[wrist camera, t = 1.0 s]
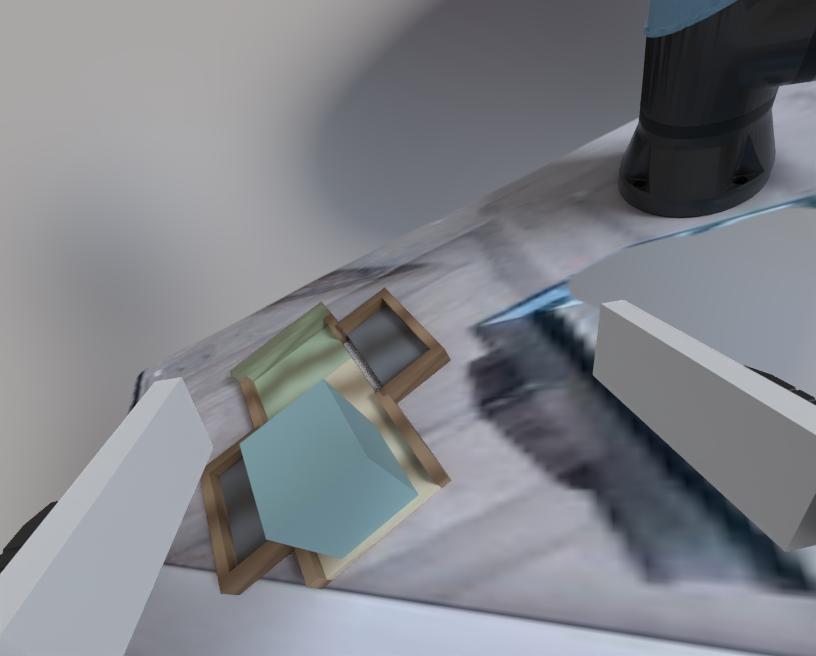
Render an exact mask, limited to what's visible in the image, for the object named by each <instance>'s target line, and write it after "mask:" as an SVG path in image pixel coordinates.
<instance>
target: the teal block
mask: <svg viewBox="0 0 816 656" xmlns="http://www.w3.org/2000/svg"><path fill="white" fill-rule="evenodd" d="M240 448H241V452H242V455H243V459H244V462H245V466H246V469H247V473H248V477H249V480H250V484H251V487H252V491H253V494H254V498H255V501H256V505H257V509H258V512H259V516H260V519H261V523H262V526H263V530H264V534H265V537H266V539H267V540H271V541H274V542H278V543H282V544H286V545H290V546H294V547H297V548H301V549H305V550H309V551H313V552H317V553H320V554H324V555H328V556H332V557H336V558H340V559H343V558H344V557H345V556H347V555H348V554H349V553H350V552H351V551H353V550H354V549H355V548H356V547H357V546H359V545H360V544H361V543H362V542H363V541H365V540H366V539H367V538H368V537H369V536H371V535H372V534H373V533H374V532H375V531H377V530H378V529H379V528H380V527H381V526H383V525H384V524H385V523H386V522H387V521H388V520H390V519H391V518H392V517H393V516H394V515H396V514H397V513H398V512H399V511H400V510H402V509H403V508H404V507H405V506H406V505H408V504H409V503H410V502H411V501H412V500H414V499H415V498H416V497H417V496H418V495H419V494H418V493H417V491H416V489H415V488H414V486H413V485H412V483H411V481H410V480H409V478H408V477H407V475H406V473H405V472H404V470H403V469H402V467H401V465H400V464H399V462H398V461H397V459H396V457H395V456H394V454H393V453H392V451H391V449H390V448H389V446H388V445H387V443H386V441H385V440H384V438H383V437H382V435H381V433H380V432H379V430H378V429H377V427H376V426H375V425H374V424H373V423H372V422H371V421H370V420H369V419H367V418H366V417H365V416H364V415H363V414H362V413H361V412H360V411H359V410H357V409H356V408H355V407H354V406H353V405H352V404H351V403H350V402H349V401H347V400H346V399H345V398H344V397H343V396H342V395H341V394H340V393H339V392H338V391H336V390H335V389H334V388H333V387H332V386H331V385H330V384H329V383H328V382H326V381H325V380H324V379H322V380H321V381H320V382H318V383H317V384H316V385H314V386H313V387H312V388H311V389H309V390H308V391H307V392H305V393H304V394H303V395H302V396H300V397H299V398H298V399H296V400H295V401H294V402H293V403H291V404H290V405H289V406H287V407H286V408H285V409H284V410H282V411H281V412H280V413H278V414H277V415H276V416H275V417H273V418H272V419H271V420H269V421H268V422H267V423H266V424H264V425H263V426H262V427H261V428H259V429H258V430H257V431H255V432H254V433H253V434H252V435H250V436H249V437H248V438H246V439H245V440H244V441H243V442H241V443H240Z"/></svg>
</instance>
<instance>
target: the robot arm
mask: <svg viewBox="0 0 816 656" xmlns="http://www.w3.org/2000/svg"><path fill="white" fill-rule="evenodd" d="M644 33H645V34H646V48H645V61H644V71H643V82H642V93H641V102H640V115H639V123H638V125H637V128H636V130H635V132H634V134H633V137H632V139H631V141H630V143H629V146H628V148H627V150H626V152H625V155H624V157H623V159H622V161H621V164H620V169H619V190H620V193H621V195H622V196H623V197H624V199H625V200H626V201H627V202H629V203H630V204H631V205H633V206H634V207H636V208H638V209H640V210H643V211H646V212H649V213H653V214H657V215H663V216H673V217H690V216H700V215H707V214H712V213H716V212H720V211H723V210H727V209H729V208H732V207H735V206H737V205H739V204H741V203H743V202H745V201H747V200H748V199H750V198H751V197H753V196H754V195H755V194H757V193H758V192H759V191H760V190H761V189H762V188H763V186H764V185H765V184H766V182H767V180H768V178H769V175H770V172H771V170H772V167H773V164H774V161H775V141H774V130H773V119H772V106H773V103H774V100H775V97H776V94H777V91H778V88H779V86H783V85H789V84H796V83H804V82H811V81H816V0H650V6H649V13H648V19H647V21H646V23H645V27H644ZM593 376H594V377H596V378H597V379H598V380H599V381H600V382H601V383H602V384H603V385H604V386H605V387H606V388H607V389H609V390H610V391H611V392H612V393H613V394H614V395H615V396H616V397H617V398H618V399H619V400H621V401H622V402H623V403H624V404H625V405H626V406H627V407H628V408H629V409H630V410H631V411H633V412H634V413H635V414H636V415H637V416H638V417H639V418H640V419H641V420H642V421H643V422H644V423H646V424H647V425H648V426H649V427H650V428H651V429H652V430H653V431H654V432H655V433H656V434H658V435H659V436H660V437H661V438H662V439H663V440H664V441H665V442H666V443H667V444H668V445H670V446H671V447H672V448H673V449H674V450H675V451H676V452H677V453H678V454H679V455H680V456H681V457H683V458H684V459H685V460H686V461H687V462H688V463H689V464H690V465H691V466H692V467H693V468H695V469H696V470H697V471H698V472H699V473H700V474H701V475H702V476H703V477H704V478H705V479H707V480H708V481H709V482H710V483H711V484H712V485H713V486H714V487H715V488H716V489H717V490H718V491H720V492H721V493H722V494H723V495H724V496H725V497H726V498H727V499H728V500H729V501H730V502H732V503H733V504H734V505H735V506H736V507H737V508H738V509H739V510H740V511H741V512H742V513H744V514H745V515H746V516H747V517H748V518H749V519H750V520H751V521H752V522H753V523H754V524H755V525H757V526H758V527H759V528H760V529H761V530H762V531H763V532H764V533H765V534H766V535H767V536H769V537H770V538H771V539H772V540H773V541H774V542H775V543H776V544H777V545H778V546H779V547H781V548H782V549H783V550H784V551H785V552H788V551H792V550H797V549H801V548H805V547H809V546H813V545H816V400H815V398H814V397H812V396H810V395H809V394H807V393H805V392H803V391H801V390H796V389H795V387H794V386H792V385H790V384H788V383H786V382H784V381H782V380H781V379H779V378H777V377H775V376H773V375H771V374H768V373H765V372H762V371H759V370H756V369H753V368H750V367H747V366H743V365H741V364H739V363H737V362H736V361H734V360H732V359H730V358H728V357H726V356H724V355H723V354H721V353H719V352H717V351H716V350H714V349H712V348H710V347H708V346H706V345H705V344H703V343H701V342H699V341H697V340H695V339H694V338H691V337H690V336H688V335H686V334H685V333H683V332H681V331H679V330H677V329H675V328H674V327H672V326H670V325H668V324H666V323H665V322H663V321H661V320H659V319H657V318H655V317H654V316H652V315H650V314H648V313H646V312H644V311H643V310H641V309H639V308H637V307H636V306H634V305H632V304H630V303H628V302H626V301H625V300H620V301H614V302H608V303H602V304H601V309H600V318H599V327H598V335H597V344H596V352H595V361H594V369H593ZM213 448H214V447H213V445H212V443H211V440H210V438H209V436H208V434H207V432H206V429H205V427H204V425H203V423H202V420H201V418H200V416H199V414H198V412H197V409H196V407H195V405H194V403H193V401H192V398H191V396H190V394H189V392H188V389H187V387H186V385H185V383H184V381H183V378H182V377H178V378H172V379H167V380H161V381H155V382H154V383H153V384H152V386H151V387H150V388H149V389H148V391H147V392H146V393H145V394H144V396H143V397H142V398H141V399H140V401H139V402H138V403H137V404H136V406H135V407H134V408H133V409H132V411H131V412H130V413H129V414H128V416H127V417H126V418H125V419H124V421H123V422H122V423H121V424H120V425H119V427H118V428H117V429H116V430H115V432H114V433H113V434H112V435H111V437H110V438H109V439H108V441H107V442H106V443H105V444H104V445H103V447H102V448H101V449H100V450H99V452H98V453H97V454H96V455H95V457H94V458H93V459H92V460H91V462H90V463H89V464H88V466H87V467H86V468H85V469H84V470H83V472H82V473H81V474H80V475H79V477H78V478H77V479H76V480H75V482H74V483H73V484H72V485H71V487H70V488H69V489H68V490H67V491H66V493H65V494H64V495H63V496H62V498H61V499H60V500H59V501H56V502H52V503H50V504H49V505H48V506H46V507H45V508H44V509H43V510H42V511H41V512H39V513H38V514H37V515H36V516H34V517H33V518H32V519H31V520H30V521H28V522H27V523H26V524H25V525H24V526H23V527H22V528H21V529H20V530H19V532H18V533H17V534H16V535H15V536H14V538H13V539H12V540H11V541H10V542H9V543H8V545H7V546H6V547H5V548H4V549H3V554H2V555H0V656H124V654H125V651H126V649H127V647H128V644H129V642H130V640H131V637H132V635H133V633H134V630H135V628H136V626H137V623H138V621H139V619H140V617H141V614H142V612H143V610H144V607H145V605H146V603H147V600H148V598H149V596H150V593H151V591H152V589H153V586H154V584H155V582H156V580H157V577H158V575H159V573H160V570H161V568H162V566H163V563H164V561H165V559H166V556H167V554H168V552H169V549H170V547H171V545H172V543H173V540H174V538H175V536H176V533H177V531H178V529H179V526H180V524H181V522H182V519H183V517H184V515H185V512H186V510H187V508H188V506H189V503H190V501H191V499H192V496H193V494H194V492H195V489H196V487H197V485H198V482H199V480H200V478H201V475H202V473H203V471H204V469H205V466H206V464H207V462H208V459H209V457H210V455H211V452H212V450H213Z"/></svg>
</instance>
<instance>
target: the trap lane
mask: <svg viewBox="0 0 816 656" xmlns="http://www.w3.org/2000/svg"><path fill="white" fill-rule="evenodd" d="M349 339H350V340H351V341H352V343H353V344H354V346H355V347H356V348H357V350H358V351H359V353H360V354H361V355H362V357H363V358H364V360H365V361H366V362H367V364H368V365H369V367H370V368H371V369H372V371H373V372H374V374H375V375H376V376H377V378H378V379H379V381H380V382H381V383H382V385H383V387H382V388H381V389H380V390H378V391H377V392H376V391H375V390H374V388H373V387H372V386H371V384H370V383H369V381H368V380H367V378H366V377H365V375H364V374H363V372H362V371H361V369H360V368H359V367H358V365H357V364H356V362H355V361H354V359H353V358H352V356H351V355H350V353H349V352H348V350H347V349H346V347H345V346H344V345H343V344H344V343H345V342H347V341H348V340H349ZM449 361H450V358H449V356H448V354H447V353H446V351H445V349H444V348H443V347H442V346H441V345H440V344H439V343H438V342H437V341H436V340H435V339H434V338H433V337H432V336H431V335H430V333H429V332H428V331H427V330H426V329H425V328H424V327H423V326H422V325H421V324H420V323H419V322H418V321H417V320H416V319H415V318H414V317H413V316H412V315H411V314H410V313H409V312H408V311H407V310H406V309H405V308H404V307H403V306H402V305H401V304H400V303H399V302H398V301H397V300H396V299H395V298H394V297H393V296H392V295H391V294H390V293H389V292H388V291H387V290H386V289H385V288H383V289H382V290H381V291H380V292H378V293H377V294H376V295H374V296H373V297H372V298H370V299H369V300H368V301H367V302H365V303H364V304H363V305H361V306H360V307H359V308H357V309H356V310H355V311H353V312H352V313H351V314H350V315H348V316H347V317H346V318H344V319H343V320H342V321H340V322H338V321H337V320H336V318H335V317H334V316H333V315H332V314H331V312H330V311H329V310H328V309H327V308H326V307H325V305H324V304H323V303H322V302H320V303H319V304H318V305H317V306H315V307H314V308H313V309H311V310H310V311H309V312H307V313H306V314H305V315H303V316H302V317H301V318H299V319H298V320H297V321H295V322H294V323H293V324H291V325H290V326H289V327H287V328H286V329H285V330H283V331H282V332H281V333H279V334H278V335H277V336H275V337H274V338H273V339H271V340H270V341H269V342H268V343H266V344H265V345H264V346H262V347H261V348H260V349H258V350H257V351H256V352H254V353H253V354H252V355H250V356H249V357H248V358H246V359H245V360H244V361H242V362H241V363H240V364H238V365H237V366H236V367H234V368H233V369H232V370H230V373H231V376H232V377H233V378H235V379H236V380H237V381H239V382H240V385H241V388H242V391H243V394H244V398H245V401H246V404H247V407H248V410H249V413H250V416H251V419H252V422H253V425H254V429H253V430H252V431H251V432H249V433H248V434H247V435H245V436H244V437H243V438H242V439H240V440H239V441H238V442H236V443H235V444H234V445H233V446H231V447H230V448H229V449H227V450H226V451H225V452H224V453H222V454H221V455H220V456H218V457H217V458H216V459H215V460H213V461H212V462H211V463H209V464H208V465H207V466H206V467H205V469H204V471H203V473H202V475H201V483H202V489H203V495H204V501H205V506H206V512H207V518H208V523H209V529H210V535H211V540H212V546H213V552H214V557H215V563H216V569H217V575H218V580H219V586H220V592H221V594H232V595H240V594H241V593H242V592H244V591H245V590H246V589H247V588H248V587H250V586H251V585H252V584H253V583H255V582H256V581H257V580H258V579H259V578H261V577H262V576H263V575H264V574H265V573H267V572H268V571H269V570H270V569H272V568H273V567H274V566H275V565H276V564H278V563H279V562H280V561H281V560H282V559H284V558H285V557H286V556H287V555H289V554H290V553H291V552H292V551H293V550H295V553H296V556H297V559H298V562H299V565H300V568H301V571H302V574H303V577H304V580H305V583H306V586H307V587H311V588H318V589H322V588H324V587H325V586H326V585H327V584H328V583H329V582H331V581H332V580H333V579H334V578H335V577H337V576H338V575H339V574H340V573H341V572H343V571H344V570H345V569H346V568H347V567H349V566H350V565H351V564H352V563H353V562H354V561H356V560H357V559H358V558H359V557H360V556H362V555H363V554H364V553H365V552H366V551H368V550H369V549H370V548H371V547H372V546H374V545H375V544H376V543H377V542H378V541H379V540H381V539H382V538H383V537H384V536H385V535H387V534H388V533H389V532H390V531H391V530H393V529H394V528H395V527H396V526H397V525H399V524H400V523H401V522H402V521H403V520H404V519H406V518H407V517H408V516H409V515H410V514H412V513H413V512H414V511H415V510H416V509H418V508H419V507H420V506H421V505H422V504H424V503H425V502H426V501H427V500H428V499H429V498H431V497H432V496H433V495H434V494H435V493H437V492H438V491H439V490H440V489H441V488H443V487H444V486H445V485H446V484H447V483H448V482H450V481H451V479H450V477H449V476H448V475H447V473H446V472H445V470H444V469H443V468H442V466H441V465H440V463H439V462H438V461H437V459H436V458H435V456H434V455H433V454H432V452H431V451H430V449H429V448H428V447H427V445H426V444H425V443H424V441H423V440H422V438H421V437H420V436H419V434H418V433H417V431H416V430H415V429H414V427H413V426H412V424H411V423H410V422H409V420H408V419H407V417H406V416H405V415H404V413H403V412H402V410H401V409H400V408H399V406H398V405H397V403H398V402H399V401H401V400H402V399H403V398H404V397H406V396H407V395H408V394H409V393H410V392H412V391H413V390H414V389H415V388H417V387H418V386H419V385H420V384H422V383H423V382H424V381H425V380H427V379H428V378H429V377H430V376H432V375H433V374H434V373H435V372H437V371H438V370H439V369H440V368H442V367H443V366H444V365H445V364H447V363H448V362H449ZM322 379H324V380H325V381H326V382H328V383H329V384H330V385H331V386H332V387H333V388H334V389H335V390H336V391H338V392H339V393H340V394H341V395H342V396H343V397H344V398H345V399H346V400H347V401H349V402H350V403H351V404H352V405H353V406H354V407H355V408H356V409H357V410H359V411H360V412H361V413H362V414H363V415H364V416H365V417H366V418H367V419H369V420H370V421H371V422H372V423H373V424H374V425H375V426H376V427H377V429H378V430H379V432H380V433H381V435H382V437H383V438H384V440H385V441H386V443H387V445H388V446H389V448H390V449H391V451H392V453H393V454H394V456H395V457H396V459H397V461H398V462H399V464H400V465H401V467H402V469H403V470H404V472H405V473H406V475H407V477H408V478H409V480H410V481H411V483H412V485H413V486H414V488H415V489H416V491H417V493H418V494H419V495H418V496H417V497H416V498H415V499H414V500H412V501H411V502H410V503H409V504H408V505H406V506H405V507H404V508H403V509H402V510H400V511H399V512H398V513H397V514H396V515H394V516H393V517H392V518H391V519H390V520H388V521H387V522H386V523H385V524H384V525H383V526H381V527H380V528H379V529H378V530H377V531H375V532H374V533H373V534H372V535H371V536H369V537H368V538H367V539H366V540H365V541H363V542H362V543H361V544H360V545H359V546H357V547H356V548H355V549H354V550H353V551H351V552H350V553H349V554H348V555H347V556H345V557H344V558H343V559H340V558H336V557H332V556H328V555H324V554H320V553H317V552H313V551H309V550H305V549H301V548H297V547H294V546H290V545H286V544H282V543H278V542H274V541H271V540H267V539H266V537H265V534H264V530H263V526H262V523H261V519H260V516H259V512H258V509H257V505H256V501H255V498H254V494H253V491H252V487H251V484H250V480H249V477H248V473H247V469H246V466H245V462H244V459H243V455H242V452H241V448H240V443H241V442H243V441H244V440H245V439H246V438H248V437H249V436H250V435H252V434H253V433H254V432H255V431H257V430H258V429H259V428H261V427H262V426H263V425H264V424H266V423H267V422H268V421H269V420H271V419H272V418H273V417H275V416H276V415H277V414H278V413H280V412H281V411H282V410H284V409H285V408H286V407H287V406H289V405H290V404H291V403H293V402H294V401H295V400H296V399H298V398H299V397H300V396H302V395H303V394H304V393H305V392H307V391H308V390H309V389H311V388H312V387H313V386H314V385H316V384H317V383H318V382H320V381H321V380H322Z"/></svg>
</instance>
